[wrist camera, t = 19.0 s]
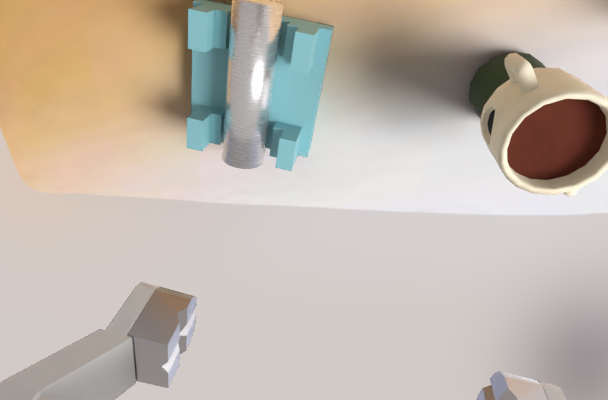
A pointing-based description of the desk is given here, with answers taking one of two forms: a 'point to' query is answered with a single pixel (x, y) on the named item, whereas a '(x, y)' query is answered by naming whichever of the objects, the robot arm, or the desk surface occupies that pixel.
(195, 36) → the teal cradle
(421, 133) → the desk surface
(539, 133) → the character mug
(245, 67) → the steel axle
